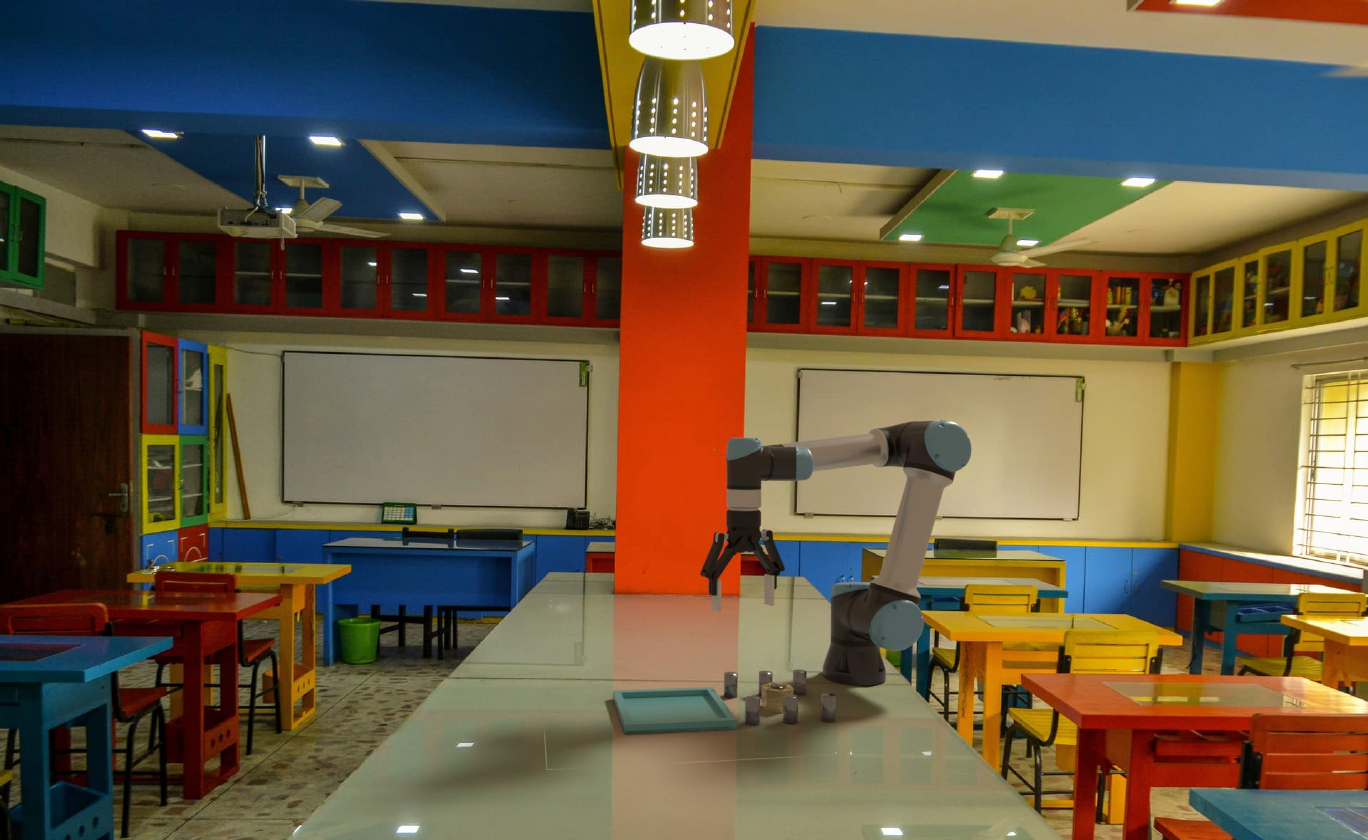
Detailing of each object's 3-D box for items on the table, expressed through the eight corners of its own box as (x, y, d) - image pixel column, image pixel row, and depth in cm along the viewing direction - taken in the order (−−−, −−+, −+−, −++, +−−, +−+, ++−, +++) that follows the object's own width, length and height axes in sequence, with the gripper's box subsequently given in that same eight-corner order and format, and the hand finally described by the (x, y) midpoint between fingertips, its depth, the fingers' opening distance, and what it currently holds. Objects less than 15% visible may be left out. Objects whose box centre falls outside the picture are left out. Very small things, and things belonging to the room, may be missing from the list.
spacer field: (803, 691, 190) (804, 669, 190) (837, 721, 169) (838, 697, 169) (722, 694, 186) (722, 671, 186) (747, 725, 166) (747, 700, 166)
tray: (712, 695, 185) (712, 687, 185) (737, 729, 164) (737, 719, 164) (612, 698, 181) (612, 690, 181) (624, 734, 159) (625, 724, 159)
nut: (785, 702, 182) (786, 681, 182) (795, 712, 175) (796, 690, 175) (759, 703, 181) (759, 682, 181) (768, 713, 174) (768, 691, 174)
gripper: (780, 505, 189) (780, 599, 189) (684, 509, 177) (684, 609, 177) (800, 508, 183) (800, 605, 182) (702, 512, 171) (702, 616, 170)
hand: (743, 607), depth 180 cm, fingers open, 13 cm apart
